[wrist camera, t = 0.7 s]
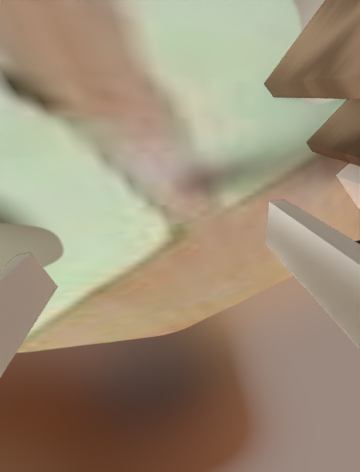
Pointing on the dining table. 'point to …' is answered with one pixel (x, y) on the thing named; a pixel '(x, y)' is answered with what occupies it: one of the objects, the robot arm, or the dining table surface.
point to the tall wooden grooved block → (327, 76)
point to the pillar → (351, 181)
